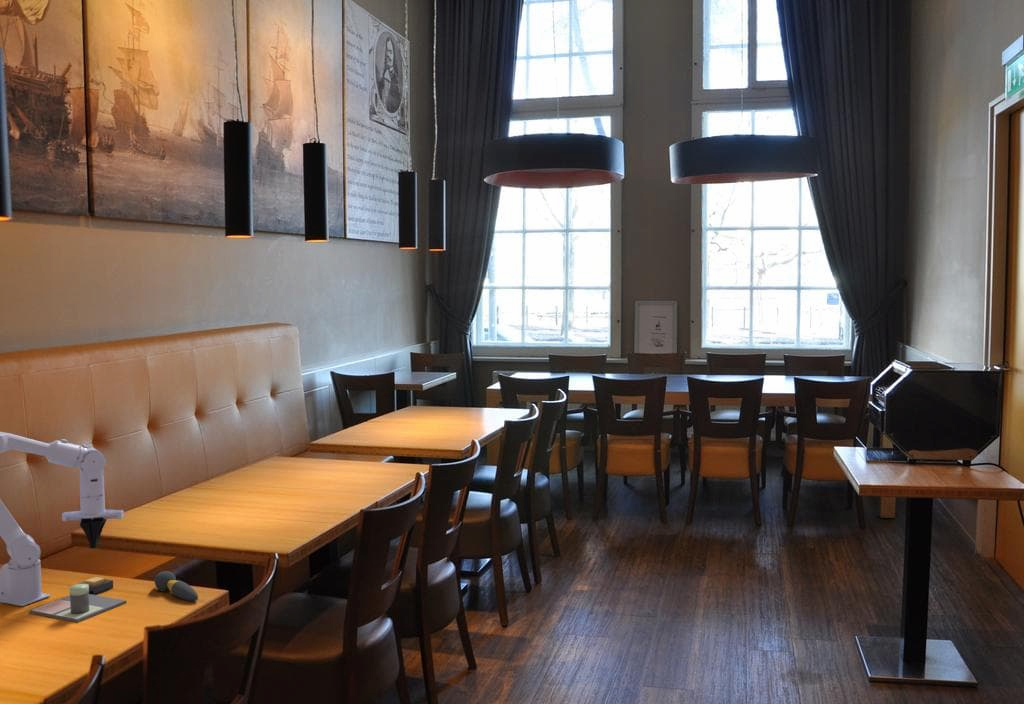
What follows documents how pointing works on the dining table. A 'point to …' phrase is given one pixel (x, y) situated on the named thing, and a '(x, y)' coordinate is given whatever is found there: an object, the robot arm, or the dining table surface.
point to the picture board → (63, 611)
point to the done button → (94, 581)
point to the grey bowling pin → (175, 586)
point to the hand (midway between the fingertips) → (94, 547)
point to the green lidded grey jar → (79, 598)
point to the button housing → (100, 587)
